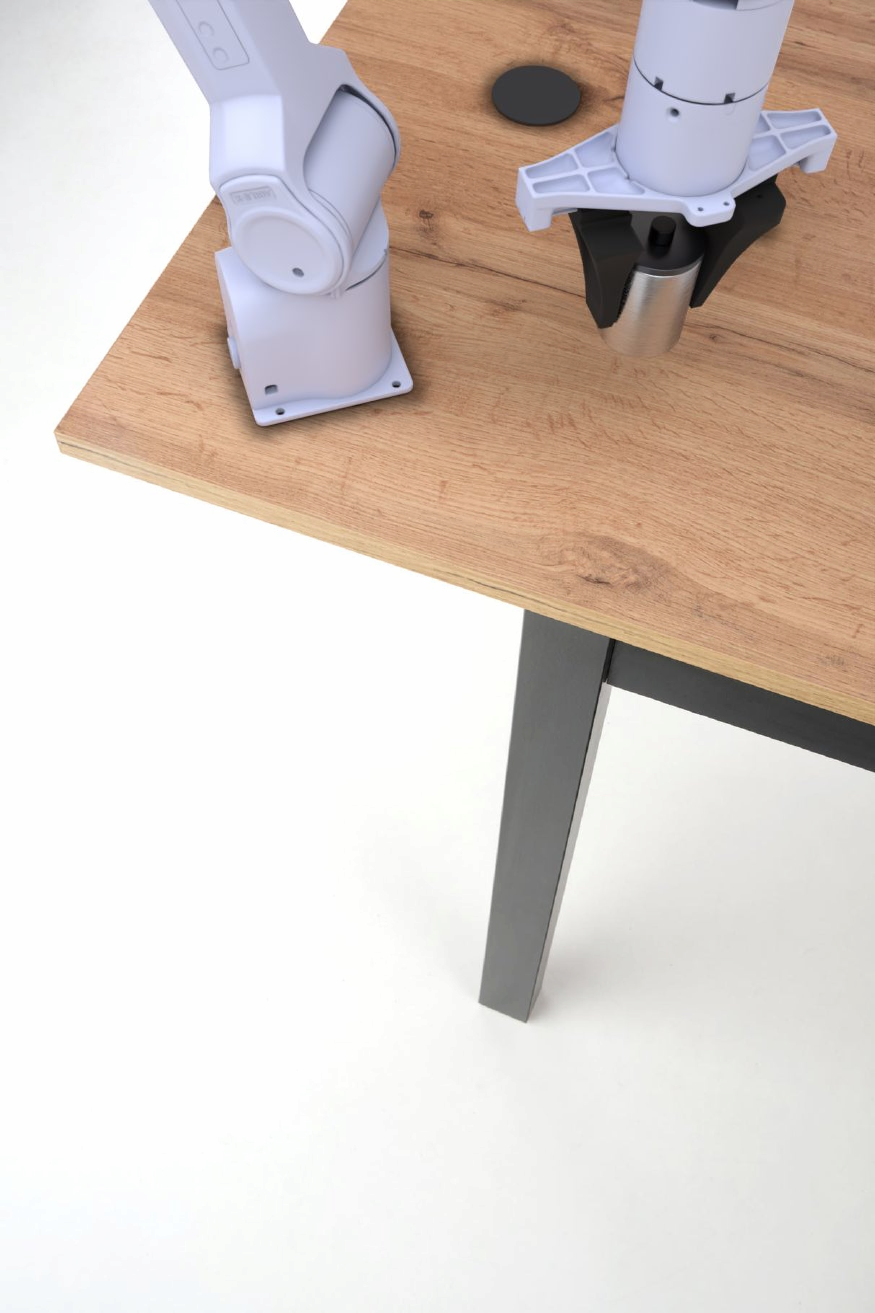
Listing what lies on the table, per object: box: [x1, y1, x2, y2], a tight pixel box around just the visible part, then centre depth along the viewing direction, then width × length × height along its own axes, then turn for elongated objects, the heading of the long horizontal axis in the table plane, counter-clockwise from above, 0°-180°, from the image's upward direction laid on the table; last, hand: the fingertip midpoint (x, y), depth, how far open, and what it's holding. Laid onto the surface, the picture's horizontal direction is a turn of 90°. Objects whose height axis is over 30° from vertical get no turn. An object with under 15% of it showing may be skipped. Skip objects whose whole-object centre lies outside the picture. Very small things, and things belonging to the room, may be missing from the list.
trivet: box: [491, 64, 581, 127], centre depth 82 cm, size 6×6×1 cm
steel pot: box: [596, 210, 707, 359], centre depth 58 cm, size 4×4×7 cm
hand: (643, 303), depth 60 cm, fingers closed on steel pot, 4 cm apart
